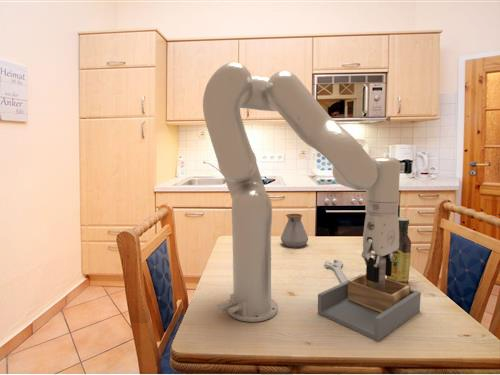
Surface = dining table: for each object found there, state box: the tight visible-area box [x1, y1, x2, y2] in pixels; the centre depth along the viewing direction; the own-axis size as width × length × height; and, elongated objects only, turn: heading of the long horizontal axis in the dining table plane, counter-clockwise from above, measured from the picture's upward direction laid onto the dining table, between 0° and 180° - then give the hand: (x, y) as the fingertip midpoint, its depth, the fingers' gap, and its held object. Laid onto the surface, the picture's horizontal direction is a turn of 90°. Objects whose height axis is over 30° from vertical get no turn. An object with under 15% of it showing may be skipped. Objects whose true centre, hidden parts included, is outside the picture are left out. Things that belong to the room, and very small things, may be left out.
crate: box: [347, 256, 411, 313], centre depth 85 cm, size 9×12×12 cm
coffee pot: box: [280, 213, 309, 249], centre depth 135 cm, size 21×12×15 cm, turn 168°
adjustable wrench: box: [324, 259, 349, 284], centre depth 106 cm, size 25×6×2 cm, turn 174°
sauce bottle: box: [386, 216, 412, 285], centre depth 100 cm, size 7×6×20 cm
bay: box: [317, 273, 422, 342], centre depth 83 cm, size 20×16×5 cm
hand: (378, 277), depth 85 cm, fingers open, 5 cm apart
